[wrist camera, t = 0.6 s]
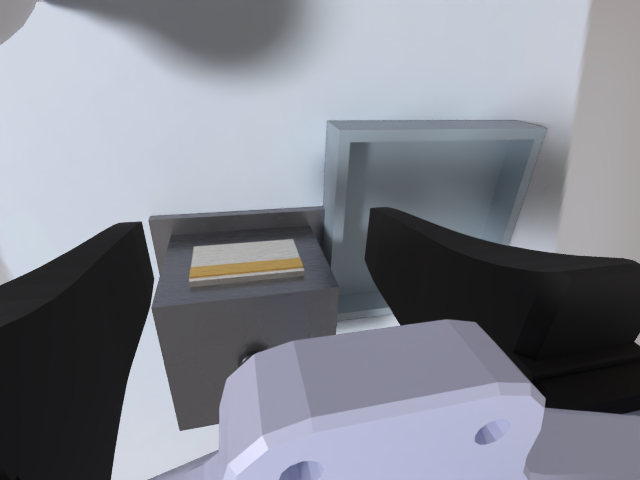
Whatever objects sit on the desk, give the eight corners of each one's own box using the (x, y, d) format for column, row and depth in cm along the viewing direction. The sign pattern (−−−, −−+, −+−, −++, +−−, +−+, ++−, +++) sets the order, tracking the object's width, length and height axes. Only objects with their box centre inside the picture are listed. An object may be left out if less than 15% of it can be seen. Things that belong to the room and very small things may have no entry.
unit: (318, 329, 27) (348, 421, 20) (176, 348, 25) (160, 458, 18) (324, 206, 22) (366, 274, 16) (149, 216, 20) (115, 299, 14)
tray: (470, 281, 28) (490, 301, 26) (318, 299, 26) (327, 322, 23) (516, 120, 22) (546, 128, 20) (327, 120, 20) (339, 130, 18)
